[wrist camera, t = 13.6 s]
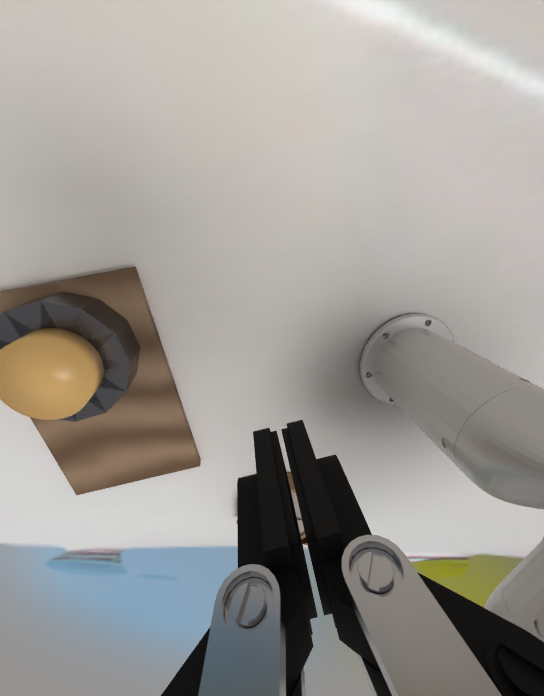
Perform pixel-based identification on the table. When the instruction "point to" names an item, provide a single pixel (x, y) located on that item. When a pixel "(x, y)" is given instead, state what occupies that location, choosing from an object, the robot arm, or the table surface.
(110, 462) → the mount
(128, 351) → the grey faceted ring
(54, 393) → the cap
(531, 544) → the table surface
